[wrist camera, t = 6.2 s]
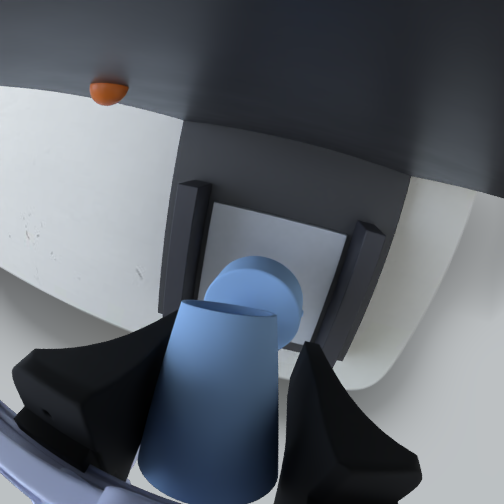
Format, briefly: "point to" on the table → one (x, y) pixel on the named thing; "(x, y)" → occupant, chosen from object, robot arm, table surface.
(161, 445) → the spotlight
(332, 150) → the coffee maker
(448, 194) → the table surface
